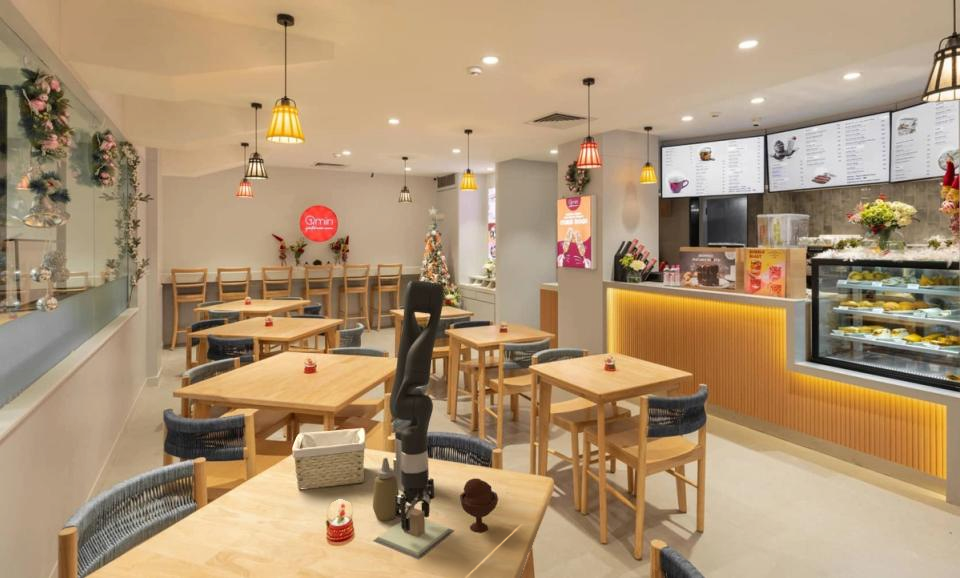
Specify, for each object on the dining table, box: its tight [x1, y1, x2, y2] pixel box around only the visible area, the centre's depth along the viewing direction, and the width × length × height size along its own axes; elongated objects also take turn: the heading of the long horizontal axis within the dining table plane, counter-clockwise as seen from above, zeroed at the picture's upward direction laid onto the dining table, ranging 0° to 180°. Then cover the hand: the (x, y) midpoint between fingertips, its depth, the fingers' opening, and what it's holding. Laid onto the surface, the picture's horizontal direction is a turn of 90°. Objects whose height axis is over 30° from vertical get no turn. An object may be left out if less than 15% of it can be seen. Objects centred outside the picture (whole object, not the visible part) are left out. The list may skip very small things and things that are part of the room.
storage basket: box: [291, 427, 367, 490], centre depth 181 cm, size 24×16×15 cm
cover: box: [377, 507, 451, 556], centre depth 144 cm, size 14×14×7 cm
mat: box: [372, 528, 455, 561], centre depth 144 cm, size 16×16×1 cm
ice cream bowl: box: [459, 478, 499, 534], centre depth 147 cm, size 11×11×15 cm
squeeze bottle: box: [372, 457, 400, 522], centre depth 154 cm, size 8×8×18 cm
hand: (415, 523), depth 144 cm, fingers open, 8 cm apart
